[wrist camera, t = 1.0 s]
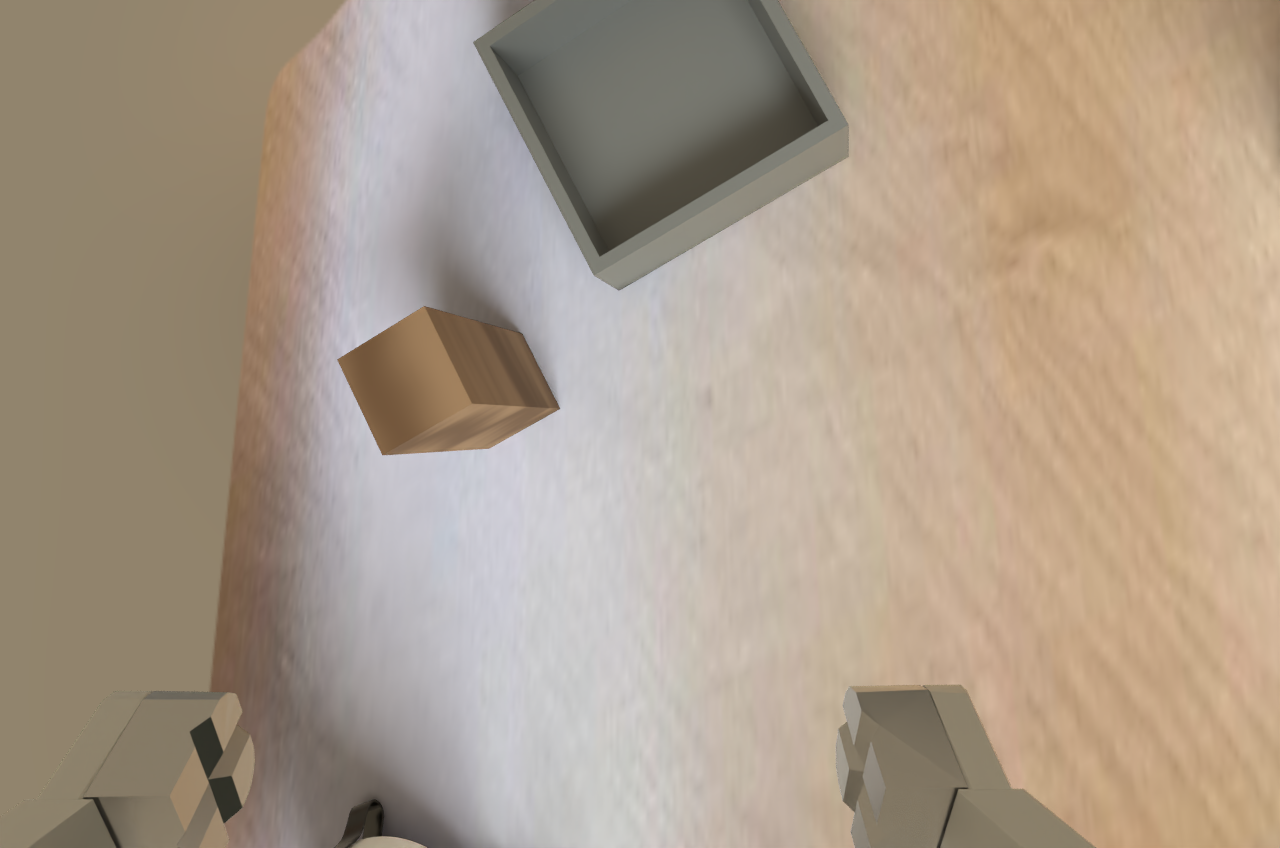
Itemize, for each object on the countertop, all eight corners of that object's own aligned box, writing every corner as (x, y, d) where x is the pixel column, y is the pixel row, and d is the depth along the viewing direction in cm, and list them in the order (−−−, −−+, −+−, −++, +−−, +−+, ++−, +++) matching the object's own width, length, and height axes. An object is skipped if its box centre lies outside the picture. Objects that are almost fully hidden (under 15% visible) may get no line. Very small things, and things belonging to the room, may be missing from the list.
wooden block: (522, 333, 50) (424, 306, 39) (560, 408, 50) (472, 403, 38) (453, 374, 51) (337, 359, 40) (489, 448, 51) (382, 455, 39)
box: (723, -64, 48) (709, -120, 43) (848, 156, 46) (848, 124, 41) (509, 79, 51) (473, 42, 46) (619, 290, 49) (593, 275, 44)
